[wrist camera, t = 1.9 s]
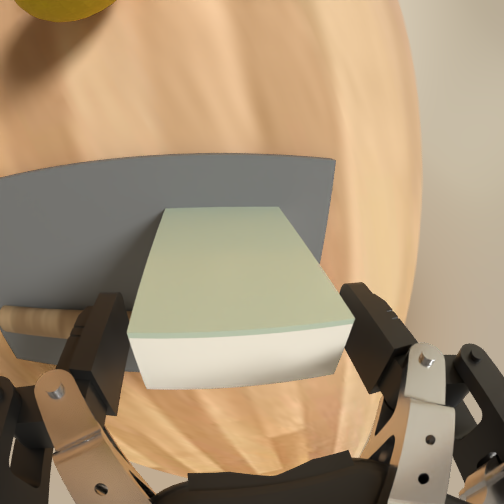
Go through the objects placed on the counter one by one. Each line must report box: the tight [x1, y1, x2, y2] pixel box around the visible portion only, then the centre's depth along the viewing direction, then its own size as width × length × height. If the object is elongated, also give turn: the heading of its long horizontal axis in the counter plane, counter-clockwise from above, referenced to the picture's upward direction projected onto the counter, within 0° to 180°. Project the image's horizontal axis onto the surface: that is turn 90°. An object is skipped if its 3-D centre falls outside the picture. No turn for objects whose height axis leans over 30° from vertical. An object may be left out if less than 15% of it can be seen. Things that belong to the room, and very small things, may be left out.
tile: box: [127, 207, 355, 389], centre depth 11 cm, size 2×6×9 cm, turn 87°
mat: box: [0, 153, 336, 372], centre depth 16 cm, size 16×26×1 cm, turn 87°
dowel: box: [0, 305, 132, 339], centre depth 15 cm, size 2×12×2 cm, turn 88°
